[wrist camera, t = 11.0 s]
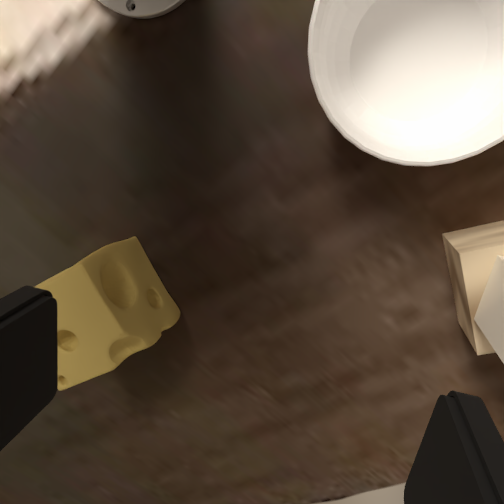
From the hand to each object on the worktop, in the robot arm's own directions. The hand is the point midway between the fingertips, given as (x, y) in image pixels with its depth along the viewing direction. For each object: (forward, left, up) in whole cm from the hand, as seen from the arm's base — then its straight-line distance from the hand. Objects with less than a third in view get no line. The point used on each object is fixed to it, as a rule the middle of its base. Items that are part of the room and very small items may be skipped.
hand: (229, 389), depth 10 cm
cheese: (+15, -18, -31) cm, 39 cm away
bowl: (-12, +6, -31) cm, 33 cm away
